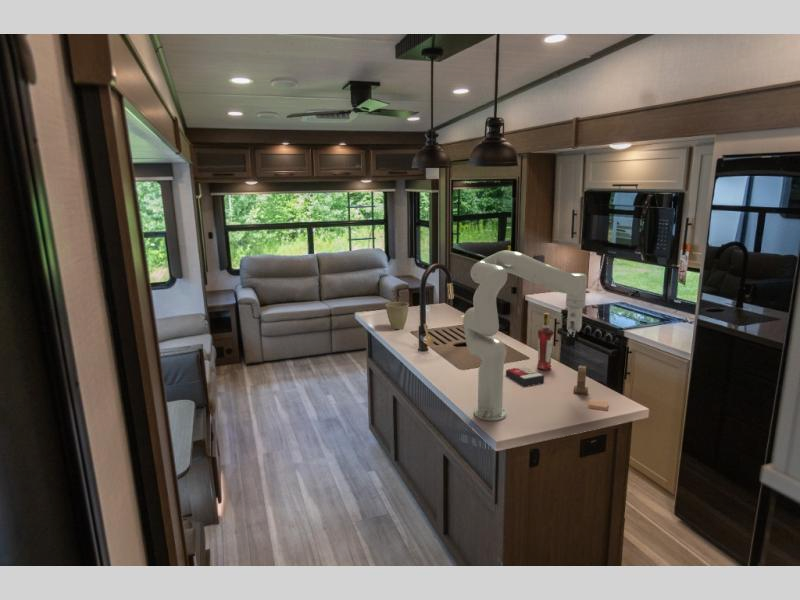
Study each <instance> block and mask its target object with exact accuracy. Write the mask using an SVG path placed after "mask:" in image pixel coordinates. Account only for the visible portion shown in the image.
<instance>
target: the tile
mask: <svg viewBox="0 0 800 600" xmlns="http://www.w3.org/2000/svg"><path fill="white" fill-rule="evenodd" d="M608 405H609V402H608V401H605V400H598V399H597V400H596V399H592V398H591V399H589V401H588V409H593V408H594V410H601V411H608Z"/></svg>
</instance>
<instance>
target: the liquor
mask: <svg viewBox="0 0 800 600" xmlns="http://www.w3.org/2000/svg"><path fill="white" fill-rule="evenodd" d="M549 320H550V313H549V312H543V325H542V328H540V329H539V330H537V364H536V366H537V368H538V369H539V370H541V369H542V371H548V370H549V369H551V368H552V365H551V363H552V351H553V350H552V349H553V342H554V331H553V330H552V329H551V328H550V321H549Z"/></svg>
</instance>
